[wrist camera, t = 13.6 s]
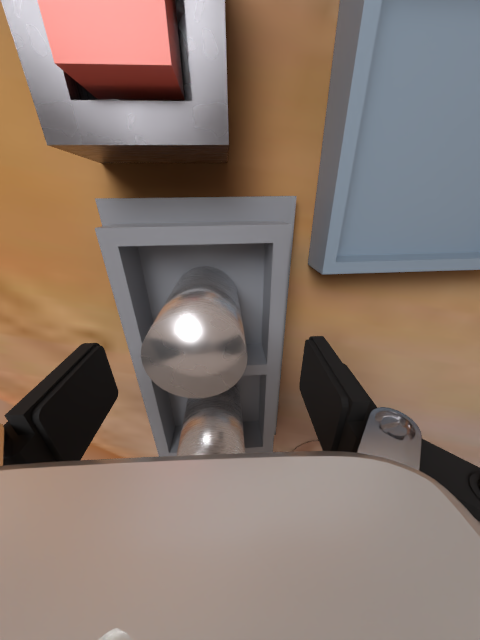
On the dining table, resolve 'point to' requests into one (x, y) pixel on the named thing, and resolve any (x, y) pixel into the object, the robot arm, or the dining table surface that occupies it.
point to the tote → (401, 140)
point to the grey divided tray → (195, 251)
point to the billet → (197, 337)
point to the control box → (133, 114)
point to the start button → (117, 46)
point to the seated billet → (213, 425)
